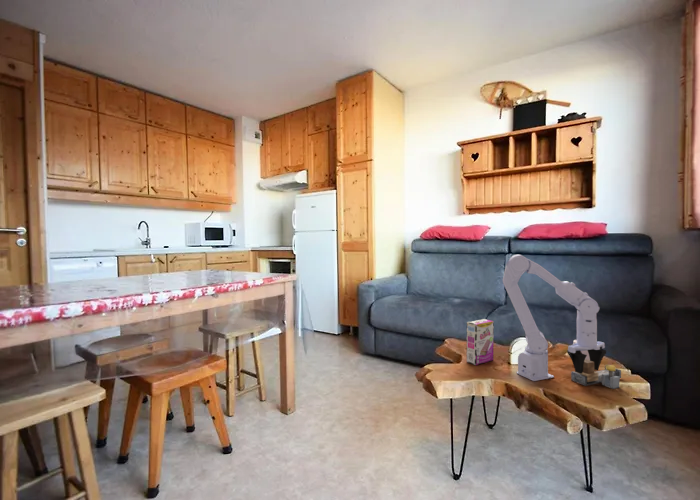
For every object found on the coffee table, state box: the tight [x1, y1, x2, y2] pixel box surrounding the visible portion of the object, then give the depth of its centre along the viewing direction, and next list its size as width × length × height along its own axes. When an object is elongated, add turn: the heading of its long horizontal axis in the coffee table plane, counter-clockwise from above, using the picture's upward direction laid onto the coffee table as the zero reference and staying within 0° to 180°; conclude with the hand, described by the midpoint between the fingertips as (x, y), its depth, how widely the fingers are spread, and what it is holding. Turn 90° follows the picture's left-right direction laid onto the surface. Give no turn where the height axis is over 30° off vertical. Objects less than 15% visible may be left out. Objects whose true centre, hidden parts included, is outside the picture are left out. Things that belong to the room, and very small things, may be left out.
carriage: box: [576, 359, 598, 382], centre depth 117 cm, size 5×4×6 cm
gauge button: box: [605, 364, 617, 380], centre depth 112 cm, size 3×3×5 cm
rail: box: [570, 364, 622, 387], centre depth 118 cm, size 17×5×3 cm, turn 108°
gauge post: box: [601, 373, 620, 390], centre depth 112 cm, size 3×4×4 cm
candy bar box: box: [466, 318, 495, 366], centre depth 138 cm, size 11×5×16 cm, turn 121°
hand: (586, 370), depth 117 cm, fingers open, 7 cm apart
